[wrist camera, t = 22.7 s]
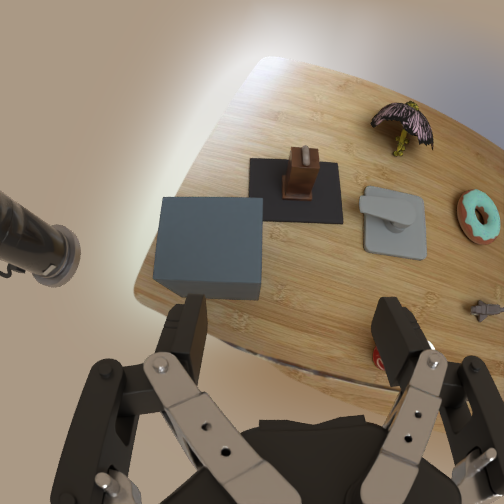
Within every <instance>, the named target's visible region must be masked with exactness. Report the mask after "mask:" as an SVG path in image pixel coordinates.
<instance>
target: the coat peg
mask: <svg viewBox="0 0 504 504" xmlns="http://www.w3.org/2000/svg"><path fill="white" fill-rule="evenodd" d="M319 169H320V164H319V153H318V149H314V148H309V147H308V146H306V145H305V146H303V147H302V148H299V147H291V151H290V156H289V161H288V166H287V172H286V176H285V175H282V200H296V201H312V188H313V185H314V183H315V180H316V177H317V175H318V172H319Z"/></svg>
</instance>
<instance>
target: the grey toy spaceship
mask: <svg viewBox="0 0 504 504" xmlns="http://www.w3.org/2000/svg"><path fill="white" fill-rule="evenodd" d="M500 312H504V307H503V308H500V305H494V304H485V303H484V302H482V301H481V300H479V301H478V306H471V315H478V321H479V322H481V321H483V320H484V319H485V318H486V317H487V315H495V314H500Z"/></svg>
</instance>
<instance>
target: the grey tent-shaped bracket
mask: <svg viewBox="0 0 504 504" xmlns="http://www.w3.org/2000/svg"><path fill="white" fill-rule="evenodd" d="M262 225H263V198H243V197H163V201H162V207H161V214H160V221H159V228H158V236H157V244H156V253H155V262H154V272H153V279H154V280H155V281H157V282H159V283H160V284H162V285H163V286H165V287H166V288H168V289H170V290H171V291H173V292H174V293H176V294H178V295H179V296H181V297H187V295H188V293H193V294H205V298H207V299H232V300H258V299H259V293H260V287H261V273H262Z"/></svg>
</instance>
